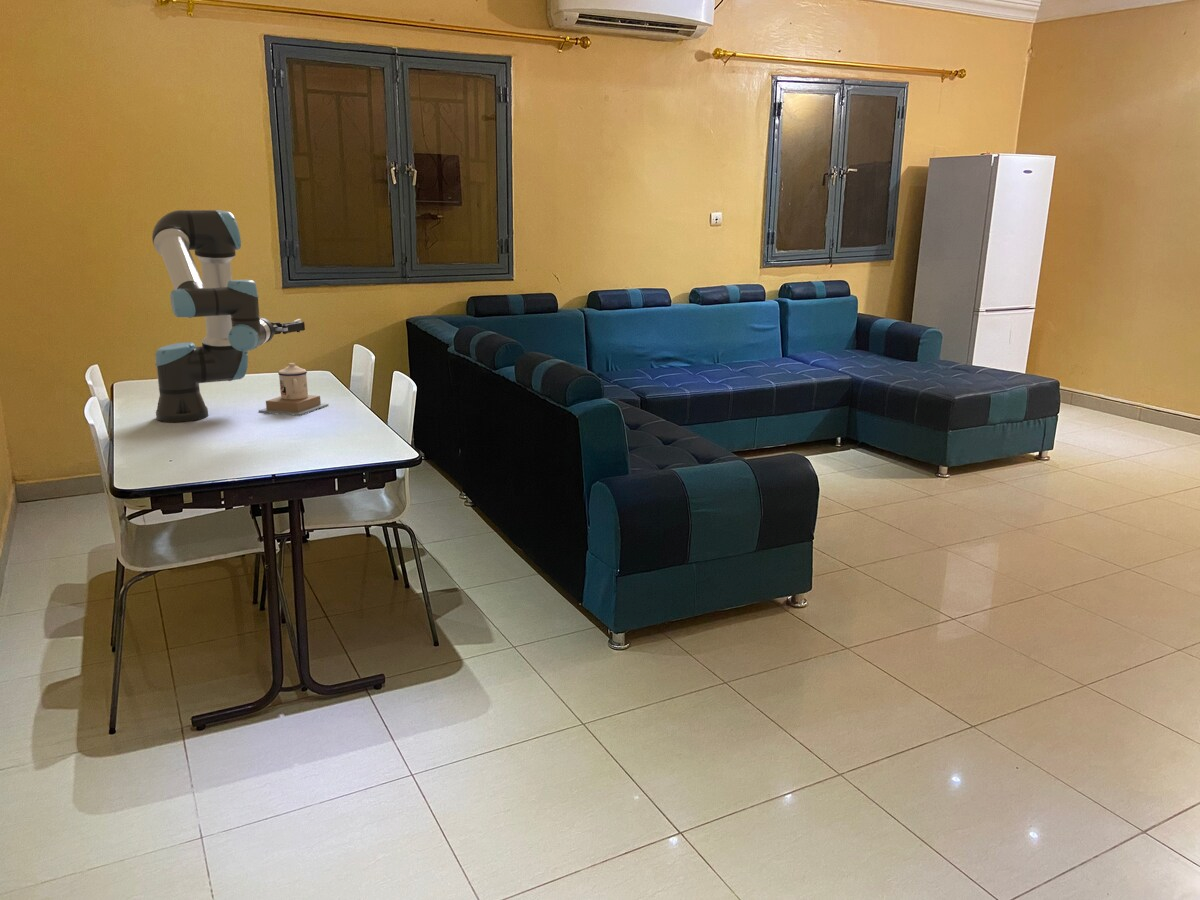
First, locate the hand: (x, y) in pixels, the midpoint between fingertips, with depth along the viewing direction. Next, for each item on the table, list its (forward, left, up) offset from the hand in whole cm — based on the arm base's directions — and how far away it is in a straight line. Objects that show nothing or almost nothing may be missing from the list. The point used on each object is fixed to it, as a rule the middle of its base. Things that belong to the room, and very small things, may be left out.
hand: (278, 323), depth 278 cm
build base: (-3, +9, -30) cm, 32 cm away
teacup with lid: (-3, +9, -27) cm, 28 cm away
